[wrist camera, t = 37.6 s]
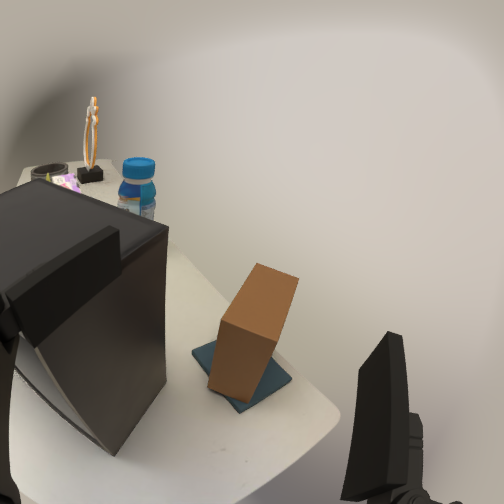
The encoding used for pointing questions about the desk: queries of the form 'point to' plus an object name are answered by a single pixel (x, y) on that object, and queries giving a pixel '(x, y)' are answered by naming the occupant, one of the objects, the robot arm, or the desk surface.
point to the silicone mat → (267, 385)
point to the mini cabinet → (91, 311)
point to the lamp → (91, 171)
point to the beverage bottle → (138, 187)
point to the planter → (49, 170)
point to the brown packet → (250, 332)
